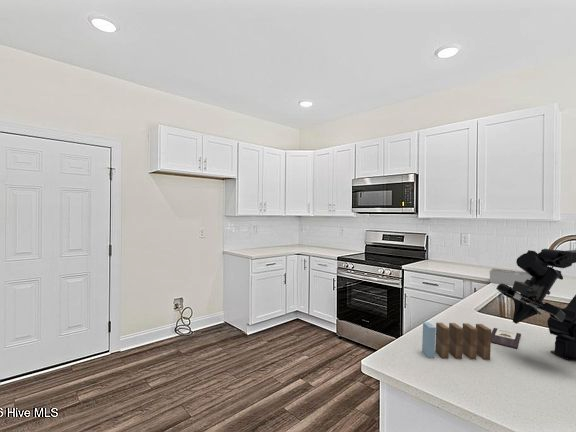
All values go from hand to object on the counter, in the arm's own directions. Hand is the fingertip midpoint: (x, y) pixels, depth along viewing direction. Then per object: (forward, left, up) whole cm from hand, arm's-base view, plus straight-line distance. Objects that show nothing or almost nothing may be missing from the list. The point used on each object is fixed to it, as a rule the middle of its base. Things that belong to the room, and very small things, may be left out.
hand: (514, 322), depth 102 cm
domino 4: (+13, -4, -12) cm, 18 cm away
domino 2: (+22, -5, -12) cm, 26 cm away
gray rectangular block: (-103, -101, -13) cm, 145 cm away
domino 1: (+27, -6, -12) cm, 30 cm away
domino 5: (+9, -3, -12) cm, 15 cm away
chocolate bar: (-12, -16, -13) cm, 24 cm away
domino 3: (+18, -4, -12) cm, 22 cm away
